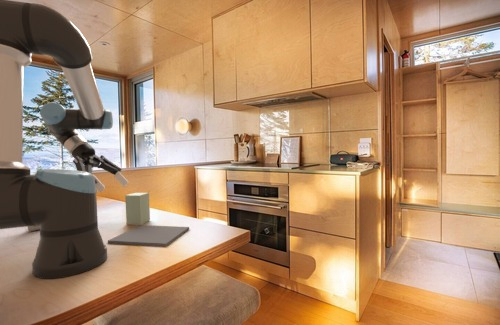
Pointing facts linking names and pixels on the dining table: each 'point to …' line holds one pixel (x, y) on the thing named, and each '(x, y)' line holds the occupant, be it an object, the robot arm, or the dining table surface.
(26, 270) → the dining table surface
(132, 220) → the sage block
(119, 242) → the mat
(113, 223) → the dining table surface
